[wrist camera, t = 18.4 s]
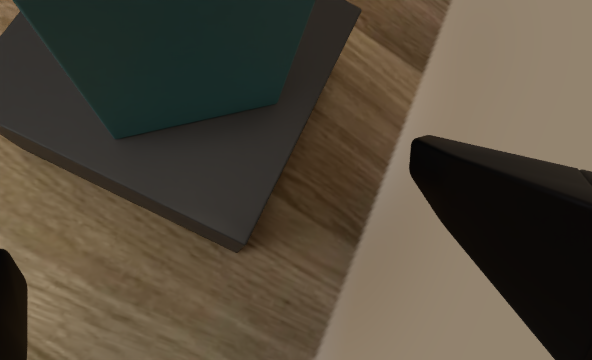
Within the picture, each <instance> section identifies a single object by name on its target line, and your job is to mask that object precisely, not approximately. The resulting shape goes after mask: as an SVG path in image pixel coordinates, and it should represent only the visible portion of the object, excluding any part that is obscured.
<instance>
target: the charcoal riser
mask: <svg viewBox="0 0 592 360" xmlns="http://www.w3.org/2000/svg"><path fill="white" fill-rule="evenodd" d="M360 13H361V9H360V8H358V7H356V6H355V5H353V4H351V3H349V2H347V1H345V0H316V1H315V3H314V6H313V9H312V11H311V14H310V17H309V19H308V22H307V25H306V28H305V30H304V33H303V36H302V38H301V41H300V44H299V46H298V49H297V52H296V54H295V57H294V60H293V62H292V65H291V68H290V70H289V73H288V76H287V79H286V81H285V84H284V87H283V89H282V92H281V95H280V97H279V100H278V103H276V104H272V105H268V106H263V107H259V108H254V109H250V110H245V111H241V112H236V113H232V114H227V115H223V116H218V117H214V118H209V119H205V120H201V121H196V122H192V123H187V124H183V125H178V126H174V127H169V128H165V129H160V130H156V131H151V132H147V133H142V134H138V135H133V136H129V137H124V138H120V139H114V138H113V136H112V135H111V134H110V132H109V131H108V130H107V128H106V127H105V126H104V124H103V123H102V121H101V120H100V119H99V117H98V116H97V115H96V113H95V112H94V111H93V109H92V108H91V106H90V105H89V104H88V102H87V101H86V100H85V98H84V97H83V96H82V94H81V93H80V92H79V90H78V89H77V87H76V86H75V85H74V83H73V82H72V81H71V79H70V78H69V77H68V75H67V74H66V72H65V71H64V70H63V68H62V67H61V66H60V64H59V63H58V62H57V60H56V59H55V57H54V56H53V55H52V53H51V52H50V51H49V49H48V48H47V47H46V45H45V44H44V42H43V41H42V40H41V38H40V37H39V36H38V34H37V33H36V32H35V30H34V29H33V27H32V26H31V25H30V23H29V22H28V21H27V19H26V18H25V17H24V15H23V14H22V13H21V11H20V12H19V13H18V15H17V16H16V17H15V18H14V20H13V21H12V22H11V24H10V25H9V26H8V27H7V29H6V30H5V31H4V33H3V34H2V35H1V36H0V134H1V135H2V136H4V137H5V138H7V139H8V140H10V141H11V142H13V143H14V144H16V145H17V146H19V147H20V148H22V149H24V150H26V151H28V152H30V153H32V154H34V155H36V156H39V157H41V158H43V159H45V160H47V161H49V162H51V163H53V164H55V165H57V166H59V167H61V168H63V169H65V170H67V171H69V172H71V173H73V174H76V175H78V176H80V177H82V178H84V179H86V180H88V181H90V182H92V183H94V184H96V185H98V186H100V187H102V188H104V189H106V190H108V191H110V192H112V193H115V194H117V195H119V196H121V197H123V198H125V199H127V200H129V201H131V202H133V203H135V204H137V205H139V206H141V207H143V208H145V209H147V210H149V211H152V212H154V213H156V214H158V215H160V216H162V217H164V218H166V219H168V220H170V221H172V222H174V223H176V224H178V225H180V226H182V227H184V228H186V229H188V230H191V231H193V232H195V233H197V234H199V235H201V236H203V237H205V238H207V239H209V240H211V241H213V242H215V243H217V244H219V245H221V246H223V247H225V248H228V249H230V250H232V251H234V252H236V253H237V252H238V251H239V250H241V249H242V248H243V247H244V246H245V245H246V244H247V242H248V240H249V238H250V236H251V234H252V232H253V230H254V228H255V226H256V224H257V222H258V219H259V217H260V215H261V213H262V211H263V209H264V207H265V205H266V203H267V201H268V199H269V197H270V195H271V193H272V191H273V189H274V187H275V185H276V183H277V181H278V179H279V177H280V175H281V173H282V171H283V169H284V167H285V165H286V163H287V161H288V159H289V157H290V155H291V153H292V151H293V149H294V147H295V145H296V143H297V141H298V139H299V136H300V134H301V132H302V130H303V128H304V126H305V124H306V122H307V120H308V118H309V116H310V114H311V112H312V110H313V108H314V106H315V104H316V102H317V100H318V98H319V96H320V94H321V92H322V90H323V88H324V86H325V84H326V82H327V80H328V78H329V76H330V74H331V72H332V70H333V68H334V66H335V64H336V62H337V60H338V58H339V56H340V53H341V51H342V49H343V47H344V45H345V43H346V41H347V39H348V37H349V35H350V33H351V31H352V29H353V27H354V25H355V23H356V21H357V19H358V17H359V15H360Z"/></svg>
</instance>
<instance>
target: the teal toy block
mask: <svg viewBox="0 0 592 360" xmlns="http://www.w3.org/2000/svg"><path fill="white" fill-rule="evenodd" d="M315 1H316V0H13V2H14V3H15V4H16V6H17V7H18V8H19V10H20V11H21V13H22V14H23V15H24V17H25V18H26V19H27V21H28V22H29V23H30V25H31V26H32V27H33V29H34V30H35V32H36V33H37V34H38V36H39V37H40V38H41V40H42V41H43V42H44V44H45V45H46V47H47V48H48V49H49V51H50V52H51V53H52V55H53V56H54V57H55V59H56V60H57V62H58V63H59V64H60V66H61V67H62V68H63V70H64V71H65V72H66V74H67V75H68V77H69V78H70V79H71V81H72V82H73V83H74V85H75V86H76V87H77V89H78V90H79V92H80V93H81V94H82V96H83V97H84V98H85V100H86V101H87V102H88V104H89V105H90V106H91V108H92V109H93V111H94V112H95V113H96V115H97V116H98V117H99V119H100V120H101V121H102V123H103V124H104V126H105V127H106V128H107V130H108V131H109V132H110V134H111V135H112V136H113V138H114V139H120V138H124V137H129V136H133V135H138V134H142V133H147V132H151V131H156V130H160V129H165V128H169V127H174V126H178V125H183V124H187V123H192V122H196V121H201V120H205V119H209V118H214V117H218V116H223V115H227V114H232V113H236V112H241V111H245V110H250V109H254V108H259V107H263V106H268V105H272V104H276V103H278V100H279V97H280V95H281V92H282V89H283V87H284V84H285V81H286V79H287V76H288V73H289V70H290V68H291V65H292V62H293V60H294V57H295V54H296V52H297V49H298V46H299V44H300V41H301V38H302V36H303V33H304V30H305V28H306V25H307V22H308V19H309V17H310V14H311V11H312V9H313V6H314V3H315Z"/></svg>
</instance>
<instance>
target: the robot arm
mask: <svg viewBox="0 0 592 360" xmlns="http://www.w3.org/2000/svg"><path fill="white" fill-rule="evenodd" d="M409 170H410V174H411V177H412V178H413V180H414V181H415V183H416V184H417V186H418V188H419V189H420V190H421V192H422V193H423V195H424V197H425V198H426V200H427V201H428V203H429V204H430V205H431V207H432V209H433V210H434V212H435V213H436V215H437V216H438V218H439V219H440V221H441V222H442V223H443V225H444V226H445V227H446V228H447V230H448V231H449V232H450V233H451V235H452V236H453V237H454V238H455V239H456V241H457V242H458V243H459V244H460V245H461V247H462V248H463V249H464V250H465V252H466V253H467V254H468V255H469V256H470V258H471V259H472V260H473V261H474V262H475V264H476V265H477V266H478V267H479V268H480V270H481V271H482V272H483V273H484V275H485V276H486V277H487V278H488V279H489V280H490V282H491V283H492V284H493V285H494V287H495V288H496V289H497V290H498V291H499V292H500V294H501V295H502V296H503V297H504V299H505V300H506V301H507V302H508V304H509V305H510V306H511V307H512V308H513V309H514V311H515V312H516V313H517V314H518V316H519V317H520V318H521V319H522V320H523V321H524V323H525V324H526V325H527V326H528V328H529V329H530V330H531V331H532V333H533V334H534V335H535V336H536V337H537V338H538V340H539V341H540V342H541V343H542V345H543V346H544V347H545V348H546V349H547V351H548V352H549V353H550V354H551V356H552V357H553V358H554V359H555V360H592V172H591V171H586V170H578V169H577V168H573V167H568V166H564V165H560V164H555V163H551V162H546V161H542V160H537V159H533V158H529V157H524V156H520V155H516V154H511V153H507V152H502V151H498V150H493V149H489V148H485V147H480V146H475V145H471V144H466V143H462V142H457V141H454V140H449V139H444V138H440V137H436V136H431V135H426V136H423V137H419V138H415V139H414V140H413V141H412V144H411V153H410V164H409ZM0 360H27V283H26V280H25V278H24V276H23V274H22V273H21V271H20V270H19V268H18V266H17V265H16V263H15V262H14V260H13V258H12V257H11V255H10V254H9V253H8V252H7V251H6V250H4V249H0Z"/></svg>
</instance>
